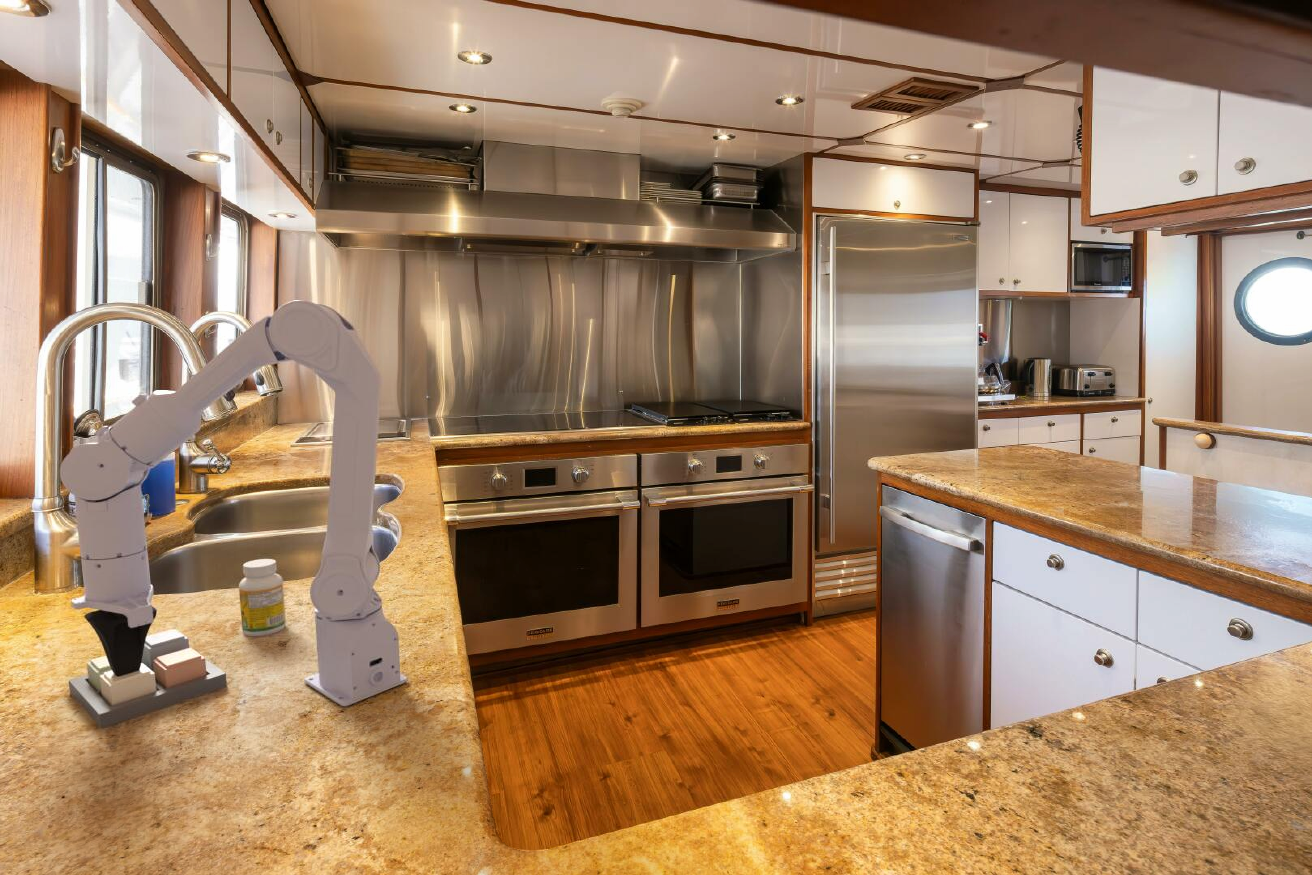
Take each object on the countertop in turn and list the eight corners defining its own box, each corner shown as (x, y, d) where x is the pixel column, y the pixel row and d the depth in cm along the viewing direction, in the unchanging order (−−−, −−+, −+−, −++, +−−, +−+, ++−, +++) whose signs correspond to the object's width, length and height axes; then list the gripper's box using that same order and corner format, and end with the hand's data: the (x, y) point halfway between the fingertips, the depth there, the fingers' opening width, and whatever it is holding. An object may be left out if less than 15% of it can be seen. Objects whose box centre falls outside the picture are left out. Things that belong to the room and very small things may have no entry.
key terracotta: (207, 684, 84) (204, 655, 83) (167, 697, 81) (164, 667, 80) (194, 674, 86) (192, 646, 86) (155, 686, 83) (152, 657, 83)
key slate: (190, 663, 87) (188, 635, 86) (151, 675, 84) (148, 646, 83) (178, 654, 89) (176, 627, 89) (140, 665, 86) (137, 637, 86)
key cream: (157, 700, 80) (154, 670, 79) (113, 714, 77) (110, 683, 76) (145, 689, 82) (142, 660, 82) (102, 703, 79) (99, 672, 79)
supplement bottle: (281, 634, 99) (277, 567, 97) (237, 639, 97) (232, 570, 96) (289, 620, 104) (284, 555, 103) (247, 624, 102) (242, 558, 101)
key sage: (142, 686, 83) (139, 657, 83) (99, 700, 80) (96, 670, 80) (131, 676, 86) (128, 648, 85) (89, 689, 82) (86, 660, 82)
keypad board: (226, 686, 84) (225, 673, 84) (100, 728, 75) (99, 714, 75) (188, 657, 92) (187, 645, 91) (69, 693, 82) (68, 679, 82)
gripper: (50, 547, 79) (63, 665, 81) (87, 575, 70) (101, 707, 72) (127, 534, 84) (138, 645, 86) (171, 558, 75) (182, 681, 77)
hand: (126, 672), depth 79 cm, fingers closed, pressing on key cream
